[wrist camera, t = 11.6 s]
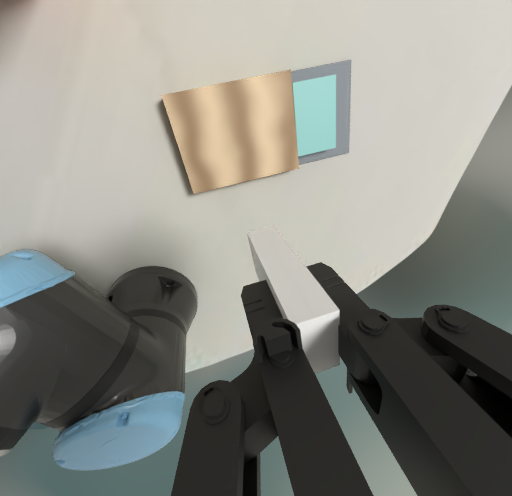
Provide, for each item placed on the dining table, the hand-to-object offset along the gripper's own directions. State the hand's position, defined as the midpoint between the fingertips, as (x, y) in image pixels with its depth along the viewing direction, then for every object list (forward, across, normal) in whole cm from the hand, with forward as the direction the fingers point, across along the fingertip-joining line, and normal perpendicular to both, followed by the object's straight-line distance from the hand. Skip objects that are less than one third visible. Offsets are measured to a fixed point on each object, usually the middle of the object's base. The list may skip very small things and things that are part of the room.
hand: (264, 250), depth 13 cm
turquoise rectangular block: (+25, +14, +4) cm, 29 cm away
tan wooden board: (+26, +3, +4) cm, 26 cm away
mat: (+26, +16, +4) cm, 31 cm away
